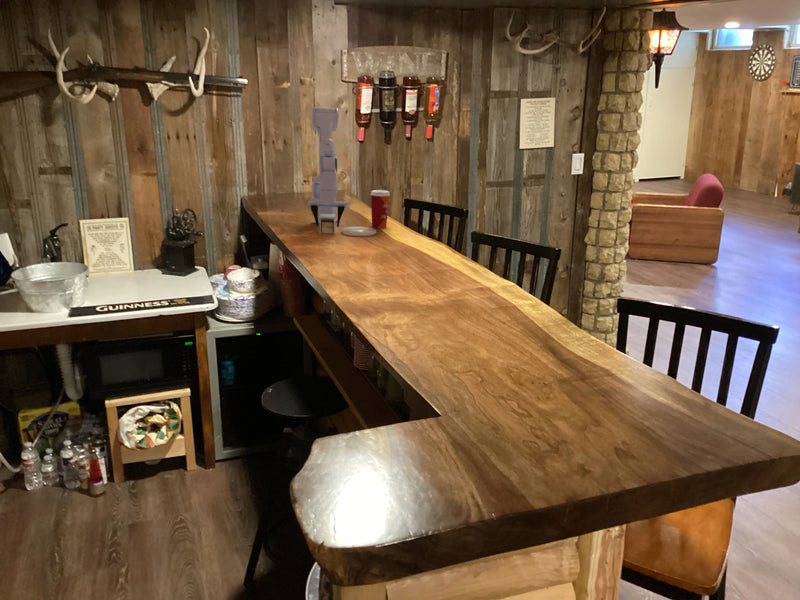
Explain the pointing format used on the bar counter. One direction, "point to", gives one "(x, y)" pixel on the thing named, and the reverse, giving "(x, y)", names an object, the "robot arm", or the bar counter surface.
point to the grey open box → (327, 218)
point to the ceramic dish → (358, 231)
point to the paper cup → (379, 208)
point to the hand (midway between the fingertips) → (327, 226)
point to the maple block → (327, 226)
